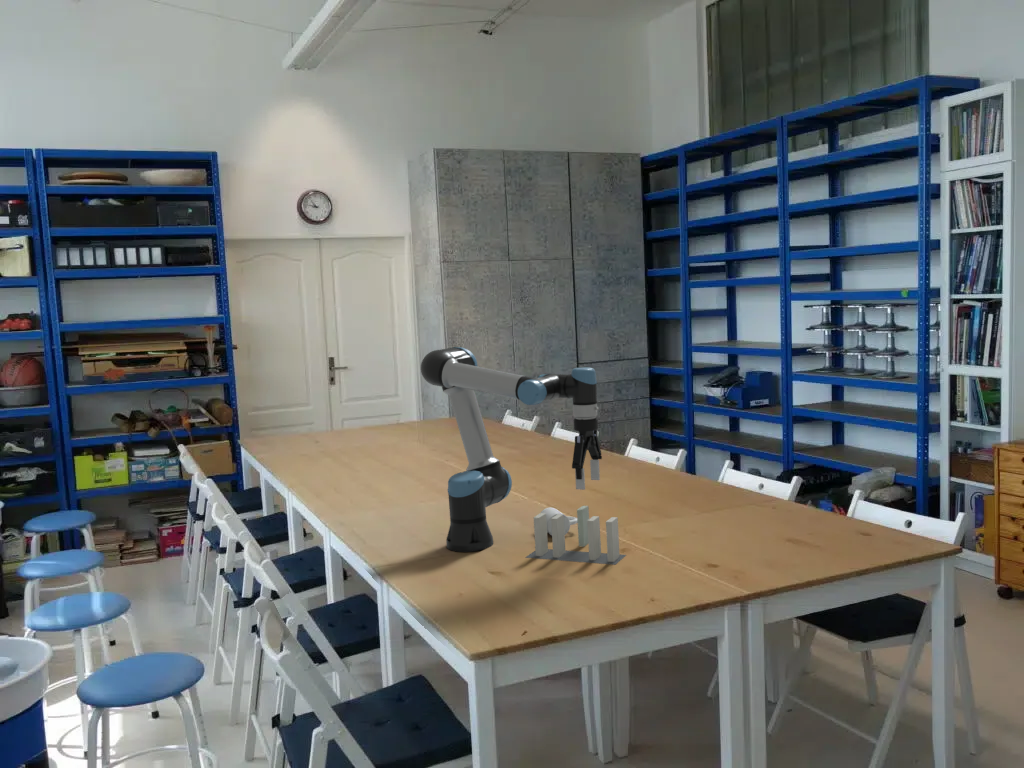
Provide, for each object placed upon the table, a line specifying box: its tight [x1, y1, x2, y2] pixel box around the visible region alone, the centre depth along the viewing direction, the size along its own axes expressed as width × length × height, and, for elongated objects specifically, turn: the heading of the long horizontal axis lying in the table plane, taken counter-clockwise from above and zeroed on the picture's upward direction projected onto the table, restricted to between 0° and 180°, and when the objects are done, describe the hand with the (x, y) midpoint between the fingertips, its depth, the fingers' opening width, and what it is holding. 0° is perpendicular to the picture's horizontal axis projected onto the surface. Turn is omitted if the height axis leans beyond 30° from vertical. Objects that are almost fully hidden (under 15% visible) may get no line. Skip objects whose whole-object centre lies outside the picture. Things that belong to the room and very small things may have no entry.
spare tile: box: [576, 505, 590, 548], centre depth 287 cm, size 2×5×12 cm, turn 154°
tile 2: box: [551, 513, 566, 558], centre depth 277 cm, size 2×5×12 cm, turn 154°
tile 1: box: [533, 512, 549, 556], centre depth 280 cm, size 2×5×12 cm, turn 155°
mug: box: [540, 507, 578, 537], centre depth 303 cm, size 12×10×8 cm
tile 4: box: [587, 515, 602, 561], centre depth 272 cm, size 2×5×12 cm, turn 155°
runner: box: [524, 548, 627, 566], centre depth 275 cm, size 29×10×1 cm, turn 65°
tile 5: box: [605, 516, 620, 562], centre depth 270 cm, size 2×5×12 cm, turn 154°
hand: (588, 484), depth 286 cm, fingers open, 13 cm apart
